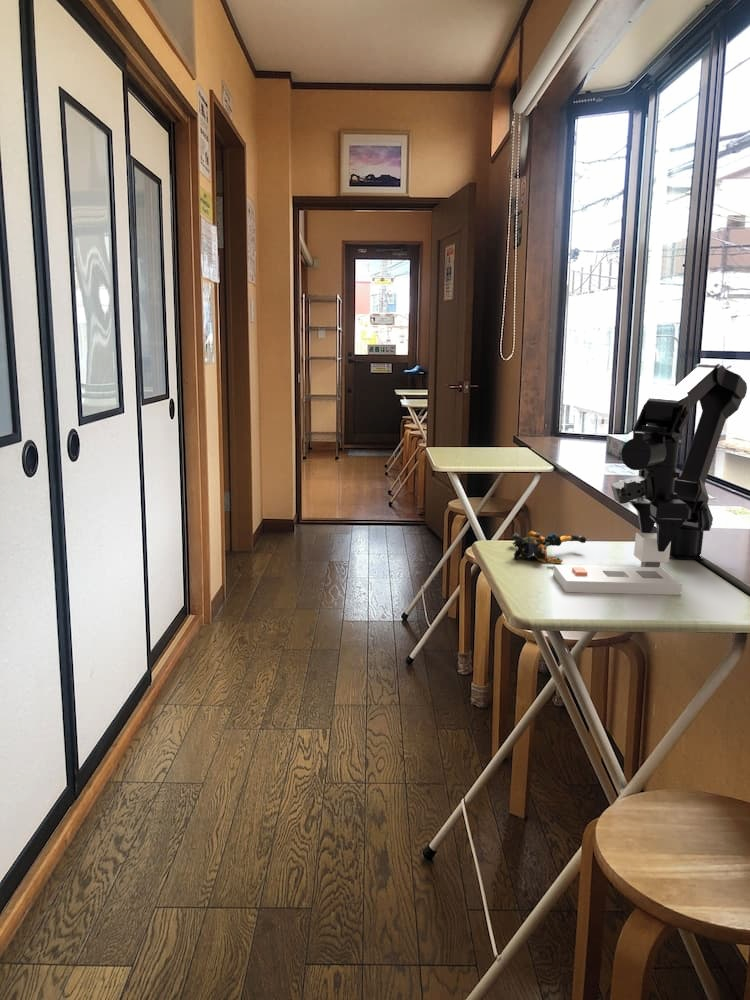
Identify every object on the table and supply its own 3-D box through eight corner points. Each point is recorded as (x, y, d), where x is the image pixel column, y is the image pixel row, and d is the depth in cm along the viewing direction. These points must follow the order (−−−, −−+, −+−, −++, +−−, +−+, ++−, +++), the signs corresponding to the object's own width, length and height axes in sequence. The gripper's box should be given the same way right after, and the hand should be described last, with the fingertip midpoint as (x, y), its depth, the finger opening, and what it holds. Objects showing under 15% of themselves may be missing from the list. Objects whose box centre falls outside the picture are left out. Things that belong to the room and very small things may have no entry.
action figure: (584, 552, 169) (585, 571, 155) (512, 546, 172) (505, 563, 158) (587, 526, 168) (587, 542, 153) (513, 520, 171) (507, 535, 157)
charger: (659, 565, 159) (662, 533, 158) (667, 572, 155) (671, 539, 153) (632, 564, 159) (636, 532, 158) (640, 571, 155) (643, 538, 153)
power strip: (660, 577, 151) (662, 564, 151) (680, 594, 141) (682, 580, 141) (553, 575, 151) (554, 561, 150) (565, 592, 141) (566, 577, 141)
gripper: (604, 456, 162) (597, 532, 165) (633, 472, 144) (625, 557, 147) (659, 457, 162) (652, 533, 165) (696, 473, 144) (686, 558, 147)
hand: (652, 544), depth 156 cm, fingers open, 9 cm apart
